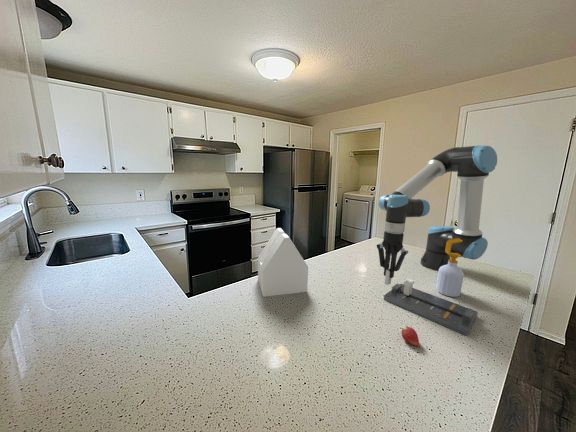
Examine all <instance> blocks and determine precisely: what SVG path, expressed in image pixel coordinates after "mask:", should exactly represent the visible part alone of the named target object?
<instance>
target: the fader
mask: <svg viewBox="0 0 576 432" xmlns="http://www.w3.org/2000/svg"><path fill="white" fill-rule="evenodd" d="M403 284H404V285H405V286H404V293H403V294H405V295H408V296H409V295H410V294H411V293H412V288H414V287H413V286H414V284H415V280H414V279H409V278H407V279H406V280H405V281H403Z"/></svg>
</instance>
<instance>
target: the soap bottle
mask: <svg viewBox="0 0 576 432" xmlns="http://www.w3.org/2000/svg"><path fill="white" fill-rule="evenodd" d="M459 242H463V240H461V239H459V238H457V239H451V240H448V241H447V242H446V248H445V252H446V253H447V254H448V255H450V258H451V259H449V260H448V264H447V265H443V266H441V267H440V268H439V271H438V270H437V272H438V273H437V279H436V283H435V284H436V286H435V290H436V291H437V292H438V294H439V293H440V294H441V295H444V296H447V297H451V298H458V297H460V296H461V292H462V287H463V282H464V278H465V277H464V276H465V274H464V272H463V270H462V269H461V268H460V267H458V260H457V259H458V258H463V257H462V256H461V255H460V254H458V253H450V252H451V247H452V245H453V244H454V243H459Z"/></svg>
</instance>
